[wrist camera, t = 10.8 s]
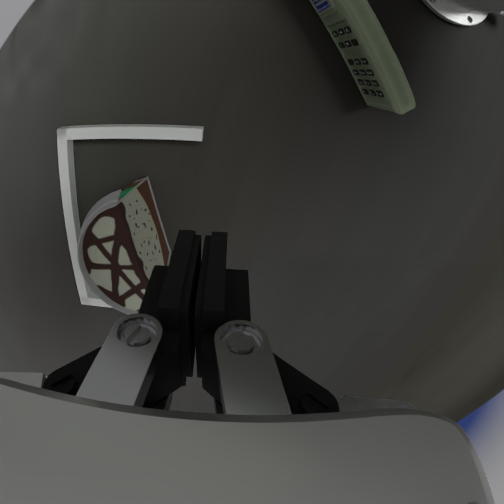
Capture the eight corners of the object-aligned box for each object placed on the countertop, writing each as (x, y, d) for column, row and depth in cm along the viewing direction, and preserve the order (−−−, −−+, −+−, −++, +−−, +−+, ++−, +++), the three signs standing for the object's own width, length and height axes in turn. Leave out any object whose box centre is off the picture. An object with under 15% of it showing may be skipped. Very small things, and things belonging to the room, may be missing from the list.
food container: (92, 176, 31) (50, 216, 22) (144, 162, 31) (113, 198, 22) (127, 270, 37) (104, 328, 29) (174, 262, 37) (161, 321, 29)
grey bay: (203, 126, 29) (202, 128, 28) (194, 307, 41) (194, 314, 40) (63, 126, 28) (56, 129, 26) (84, 296, 39) (81, 304, 38)
